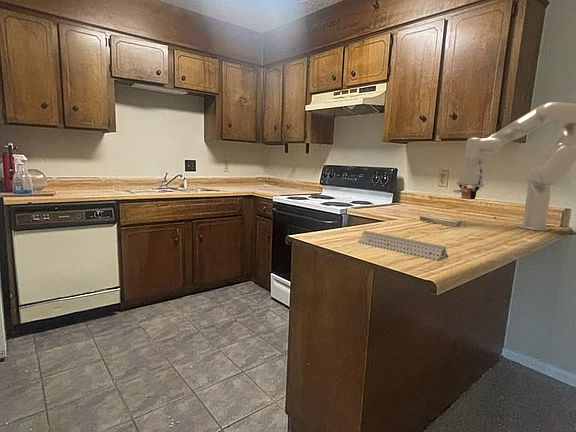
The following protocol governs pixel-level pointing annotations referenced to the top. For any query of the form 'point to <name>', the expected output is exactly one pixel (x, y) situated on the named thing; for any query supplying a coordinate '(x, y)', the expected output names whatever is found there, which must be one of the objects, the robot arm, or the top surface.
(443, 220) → the board
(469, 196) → the gauge
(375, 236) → the corner bead
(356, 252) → the top surface
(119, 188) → the top surface
